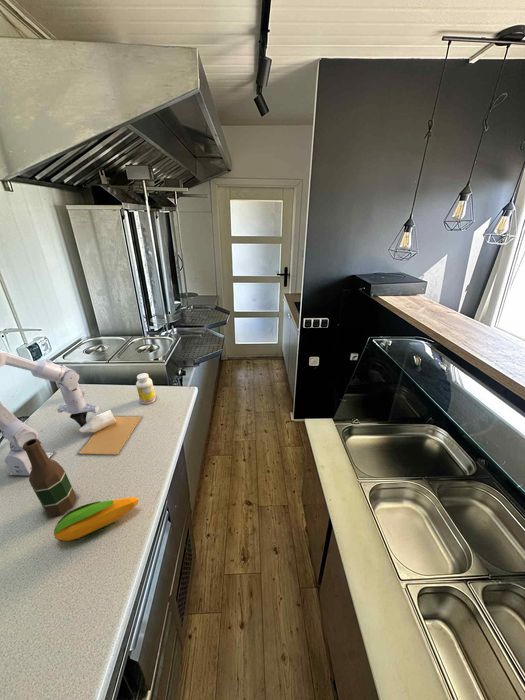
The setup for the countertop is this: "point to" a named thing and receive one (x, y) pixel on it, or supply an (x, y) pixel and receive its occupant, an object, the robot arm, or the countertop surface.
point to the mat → (111, 437)
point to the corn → (92, 518)
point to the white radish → (98, 422)
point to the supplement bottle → (145, 388)
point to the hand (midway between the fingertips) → (84, 426)
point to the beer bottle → (49, 480)
